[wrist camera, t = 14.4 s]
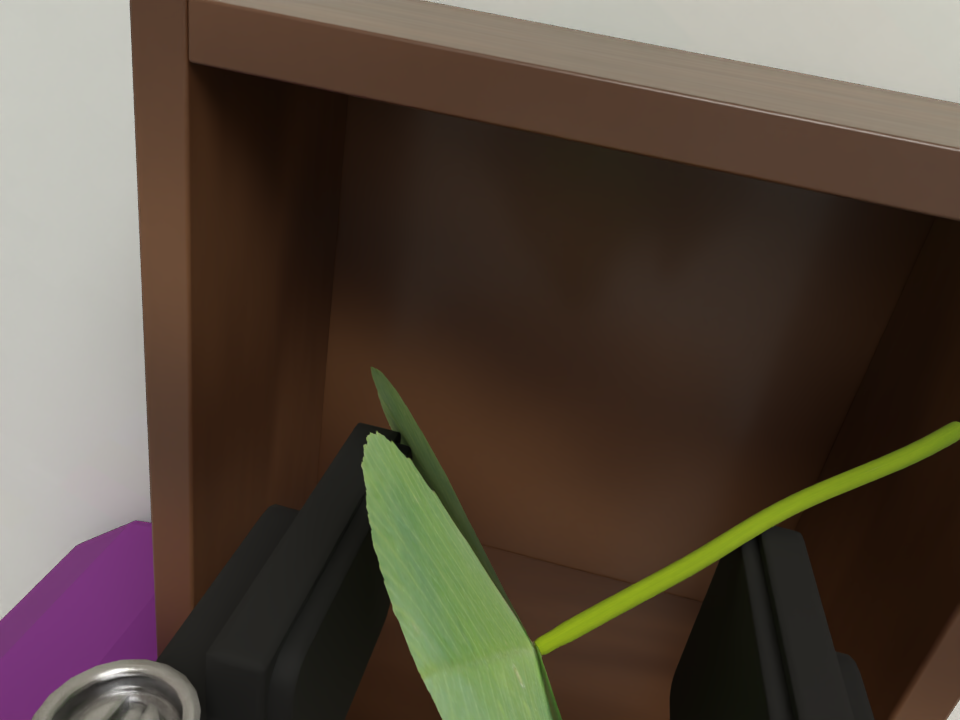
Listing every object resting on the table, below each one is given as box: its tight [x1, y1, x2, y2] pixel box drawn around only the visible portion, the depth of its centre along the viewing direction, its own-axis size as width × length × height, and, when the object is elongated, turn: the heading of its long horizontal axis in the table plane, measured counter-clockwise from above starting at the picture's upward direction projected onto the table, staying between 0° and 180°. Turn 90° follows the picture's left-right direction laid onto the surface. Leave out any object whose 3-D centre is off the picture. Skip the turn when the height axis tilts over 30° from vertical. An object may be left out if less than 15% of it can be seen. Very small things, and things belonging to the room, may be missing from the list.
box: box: [130, 0, 960, 720], centre depth 15 cm, size 14×14×7 cm
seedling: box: [361, 367, 960, 720], centre depth 9 cm, size 7×8×6 cm
